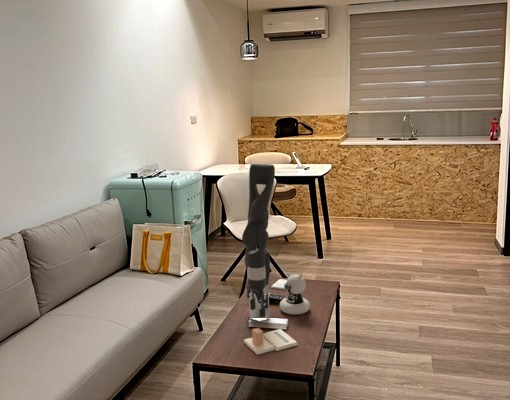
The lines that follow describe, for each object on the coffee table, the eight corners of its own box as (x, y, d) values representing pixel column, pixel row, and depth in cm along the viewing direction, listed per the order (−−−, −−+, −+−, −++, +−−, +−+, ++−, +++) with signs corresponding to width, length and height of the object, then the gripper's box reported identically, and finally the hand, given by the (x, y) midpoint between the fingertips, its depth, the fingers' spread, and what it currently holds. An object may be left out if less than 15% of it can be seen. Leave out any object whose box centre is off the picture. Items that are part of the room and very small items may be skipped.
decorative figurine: (273, 309, 262) (273, 270, 257) (295, 301, 270) (295, 264, 266) (293, 319, 250) (293, 279, 246) (316, 310, 259) (316, 271, 254)
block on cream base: (244, 342, 228) (243, 326, 227) (260, 338, 232) (260, 322, 230) (257, 354, 218) (256, 338, 216) (274, 350, 221) (273, 333, 220)
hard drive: (284, 288, 284) (292, 280, 295) (270, 286, 288) (279, 278, 299) (284, 291, 285) (293, 283, 296) (270, 289, 288) (279, 281, 299)
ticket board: (260, 337, 233) (260, 333, 232) (280, 332, 237) (280, 328, 237) (276, 350, 221) (276, 347, 220) (296, 345, 225) (296, 341, 225)
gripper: (240, 272, 222) (242, 309, 226) (256, 283, 210) (257, 321, 213) (256, 269, 226) (257, 305, 229) (273, 279, 213) (274, 317, 217)
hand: (257, 313), depth 221 cm, fingers open, 8 cm apart
